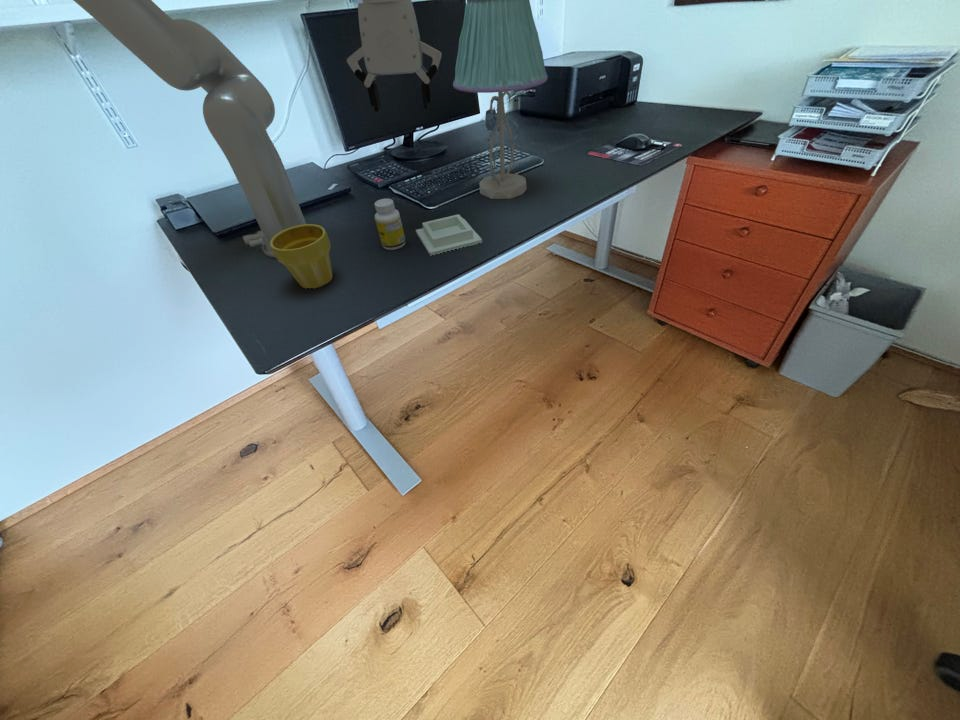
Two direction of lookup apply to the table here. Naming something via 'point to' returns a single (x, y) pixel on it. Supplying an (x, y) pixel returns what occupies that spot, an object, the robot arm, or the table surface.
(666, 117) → the table surface
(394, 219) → the supplement bottle
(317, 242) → the plant pot
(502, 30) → the table lamp
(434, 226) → the socket holder
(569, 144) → the table surface
